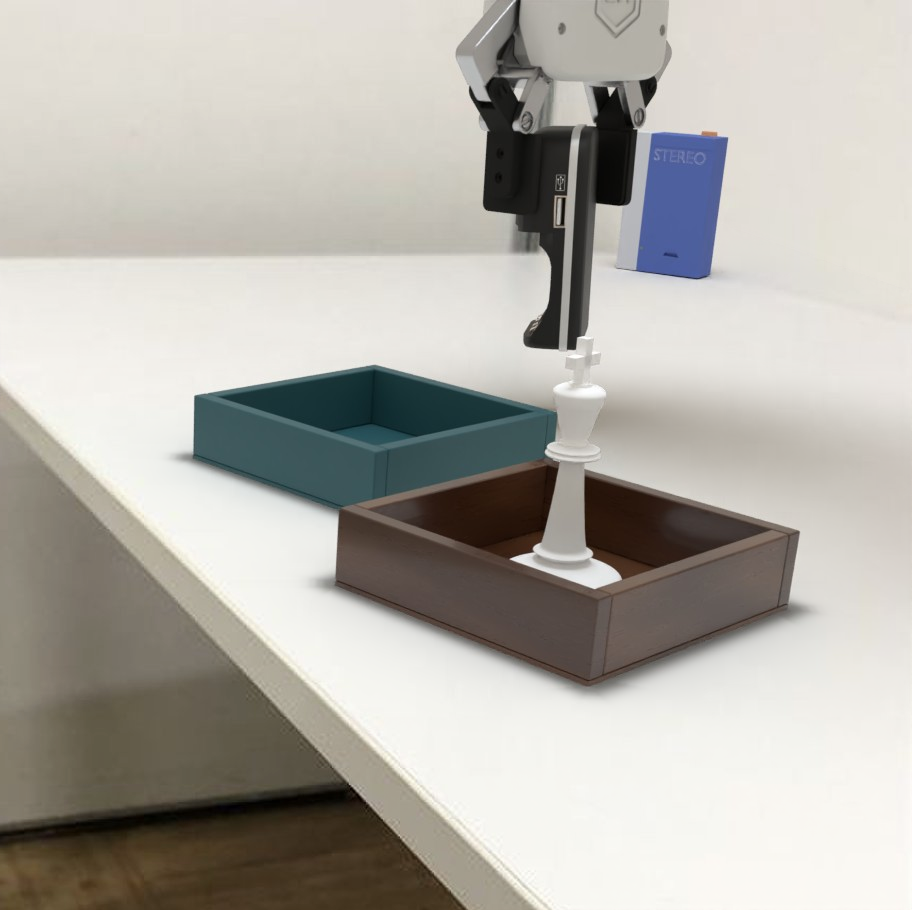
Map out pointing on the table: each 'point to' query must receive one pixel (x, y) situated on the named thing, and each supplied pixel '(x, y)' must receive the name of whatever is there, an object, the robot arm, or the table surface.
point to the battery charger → (565, 232)
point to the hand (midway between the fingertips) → (558, 205)
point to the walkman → (673, 204)
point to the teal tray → (364, 433)
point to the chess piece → (572, 478)
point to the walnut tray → (557, 599)
